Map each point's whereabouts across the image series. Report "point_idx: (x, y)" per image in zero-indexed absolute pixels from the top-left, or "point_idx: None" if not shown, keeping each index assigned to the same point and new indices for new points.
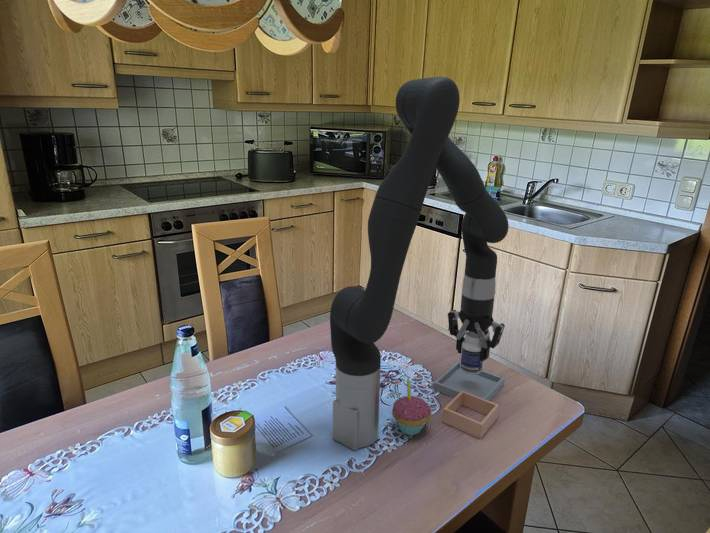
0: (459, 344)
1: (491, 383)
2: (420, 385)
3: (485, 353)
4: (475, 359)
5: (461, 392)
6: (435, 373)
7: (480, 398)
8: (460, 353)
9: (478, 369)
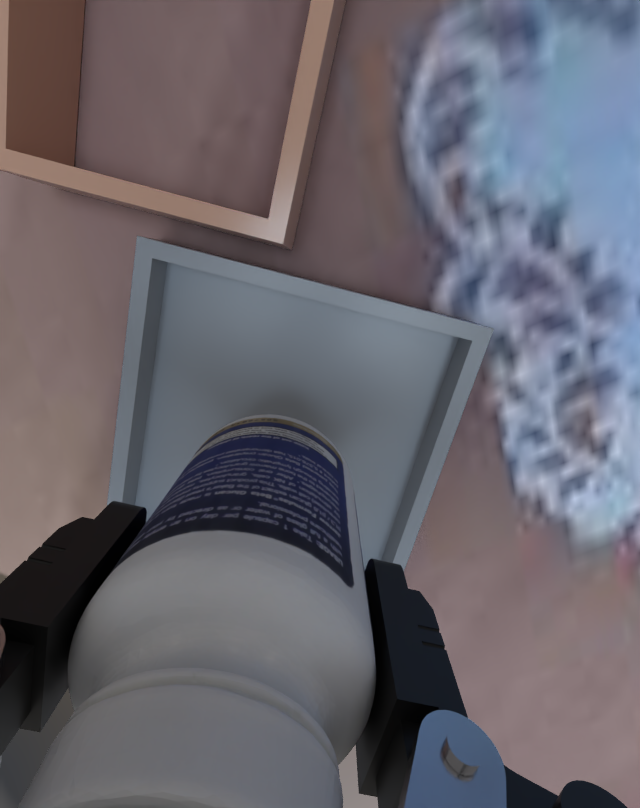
0: (405, 642)
1: None
2: (558, 334)
3: (43, 570)
4: (184, 486)
5: (279, 212)
6: (489, 489)
7: (130, 192)
8: (369, 561)
9: (191, 460)
